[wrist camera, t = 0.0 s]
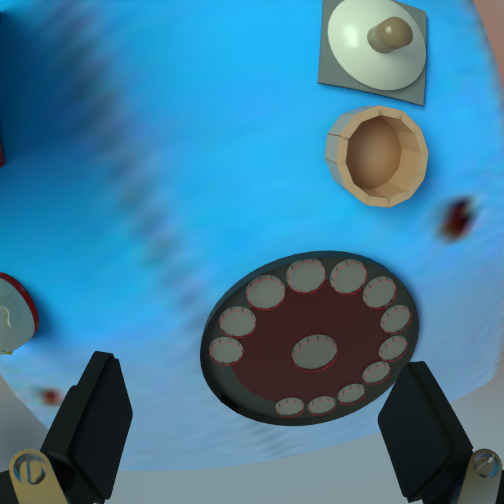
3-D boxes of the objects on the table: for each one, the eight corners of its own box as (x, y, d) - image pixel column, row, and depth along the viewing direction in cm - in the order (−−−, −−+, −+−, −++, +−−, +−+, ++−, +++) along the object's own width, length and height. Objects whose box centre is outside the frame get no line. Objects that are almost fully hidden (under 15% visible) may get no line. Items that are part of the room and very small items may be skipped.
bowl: (328, 100, 34) (343, 98, 28) (408, 117, 35) (432, 119, 29) (318, 188, 38) (330, 201, 33) (396, 198, 39) (418, 211, 33)
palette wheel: (156, 336, 47) (153, 347, 45) (351, 198, 39) (357, 203, 37) (284, 435, 59) (285, 445, 56) (435, 349, 51) (441, 357, 48)
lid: (329, -14, 27) (342, -33, 22) (423, 13, 28) (445, 3, 22) (323, 78, 32) (337, 72, 27) (420, 101, 33) (445, 100, 27)
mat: (323, -16, 28) (325, -18, 27) (422, 13, 28) (426, 11, 27) (317, 83, 33) (319, 82, 32) (419, 105, 34) (423, 105, 33)
